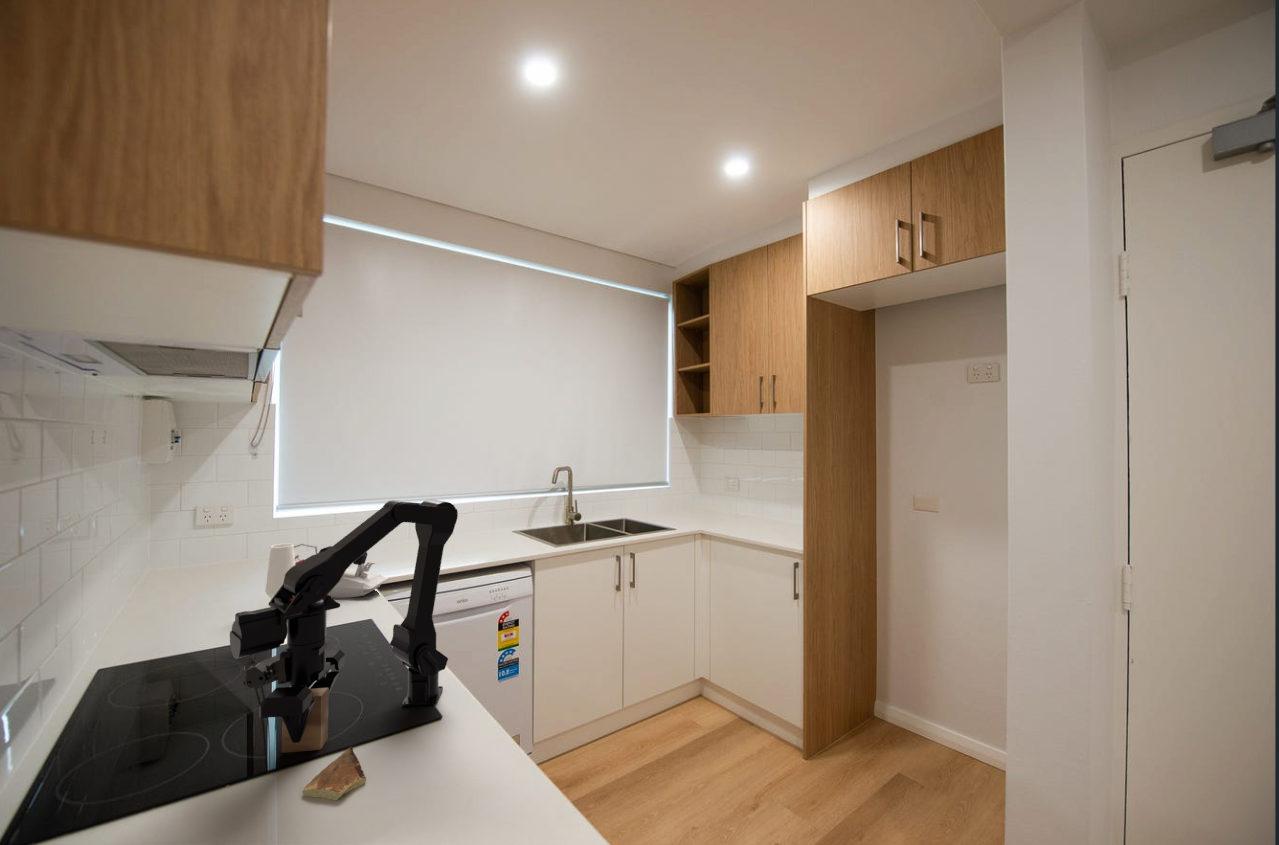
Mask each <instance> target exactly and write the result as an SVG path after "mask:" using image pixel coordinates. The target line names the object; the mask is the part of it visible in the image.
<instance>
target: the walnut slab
mask: <svg viewBox="0 0 1279 845" xmlns="http://www.w3.org/2000/svg"><path fill="white" fill-rule="evenodd" d="M310 690H311V691H312V699H311V700H315V703H314V706H313V709H312V712H311V714H310V717H309V720H308V722H307V725H306V728H305V731H304V733H303V736H302V738H301V741H300V742H298V743H293V742H292V740H291V738H290V735H289V733H288V730H287V728H286V725H285V723H284V721H283V719H282V718H281V754H283V753H285V754H286V753H297V752H307V751H320V750H322V748H323V747H324V745H325V744H326V742H328V740H329V695H330V693H329V688H315V689H310Z"/></svg>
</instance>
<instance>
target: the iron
mask: <svg viewBox="0 0 1279 845" xmlns="http://www.w3.org/2000/svg"><path fill="white" fill-rule="evenodd" d="M332 546H333V545H330V546H326V547H323V548H321V549H320V550H319V552H318V553H320V552H323V551H325V550H327V549H329V548H331V547H332ZM367 558H368V551H367V552H366V553H364V554H363V555H362V556H361V557H360V558H358V559H357V560H356V561H355V562H353V563H352V565H357V568H352V567H351V568H350V567H348V568H347V570H346V571H345V573H344V575H343V576H342V578H341V580H340V581H339V583H338V584H337V585H336V586H335V587H334V588H333V589H332V590H331V591H330V592H329V594H328V595H330V596H331V597H332V598H343V599H344V598H354V597H355V598H356V597H361V596H363V597H364V596H366V595H367V594H370V593H371V592H373V591H375V590H377V589H378V588H380V586H381V585H382V584H383V583H386V582H388V581H389V580H390V577H386V576H383V575H381V574H377V573H374V572H370V569H371V567H372V566H373V565H375V564H377V562H372V561H368V562H367V563H366V561H367ZM365 563H366V564H365Z"/></svg>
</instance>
